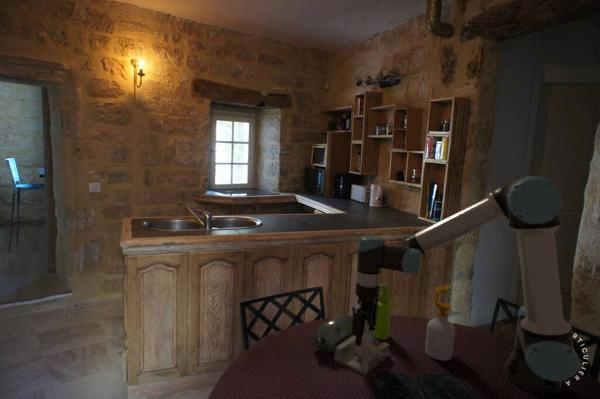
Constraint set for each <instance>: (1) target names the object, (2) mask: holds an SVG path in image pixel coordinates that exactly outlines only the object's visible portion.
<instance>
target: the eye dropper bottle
mask: <svg viewBox="0 0 600 399" xmlns="http://www.w3.org/2000/svg"><path fill="white" fill-rule="evenodd" d="M363 336H365V337H364V351H363V355H359V354H357V353H356V354H357V355H358V356H360V357H362V358H364V357H365V356H367V355H368V354H369V353H370V352H372V345H373V341H374V338H373V337H374V336H373V334H372V335H371V334H370V332H369V325H368V324H367V321H365V327H364V333H363Z"/></svg>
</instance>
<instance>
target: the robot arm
mask: <svg viewBox="0 0 600 399" xmlns="http://www.w3.org/2000/svg"><path fill="white" fill-rule="evenodd" d="M562 205H563V198H562V193H561V191H560V189H559V188H558V187H557V185H556V184H555V182H552V181H551V180H550V179H548V178H545V177H543V176H539V175H534V174H521V175H518V176H515V177H513V178H512V179H510V180H508V181H507V182H505V183H504V184H502V185H501V186H498V187H497V188H495V189H494V190H492V191H490V192H488V194H487V197H485V198H483V199H481V200H479V201H478V202H475V203H473V204H471V205H469V206H467V207H464V208H463V209H461V210H459V211H457V212H456V213H453V214H451V215H449V216H447V217H445V218H443V219H442V220H439V221H437V222H435V223H433V224H431V225H429V226H427V227H425V228H423V229H421V230H419V231H417V232H416V233H414V234H411V235H410V236H405V237H403V238H401V239H400V240H399V241H398V242H397V244H396V245H395V246H394V245H388V244H384V241H383V240H384V239H382V237H381V236H377V235H363V236H361V237H360V238H359V241H358V247H357V248H358V249H357V266H356V278H355V279H356V280H355V281H356V283H355V295H356V296H357V297H358V300H357V303H356V304H357V305H356V306H352V309H351V310H352V320H353V325H352V335H354V336H356V343H355V353H357V354H359V355H363V351H364V337H365V336H363V333H364V327H365V321H367V324H368V325H369V332H370V334H371V335H372V336H373V331H375V328H374V326H376V318H377V307H378V302H379V295H380V288H379V284H381V269H382V270H390V271H394V272H400V273H405V274H415V275H417V274H419V273H420V271H421V266H422V257H423V256H424V255H427V254H428V253H431V252H432V251H435V250H437V249H439V248H441V247H442V246H446V245H447V244H450V243H452V242H454V241H456V240H458V239H460V238H462V237H464V236H467V235H469V234H470V233H473V232H476V231H477V230H479V229H481V228H484V227H486V226H488V225H490V224H492V223H495V222H497V221H499V220H506V221H507V220H508V223H509V229H511V230H512V231H513V232H515V234H516V241H517V248H518V257H519V258H518V259H519V265H520V275H521V277H520V278H521V285H522V293H523V300H524V305H522V306H520V307H519V308H518V313H517V320H516V329H515V330H516V331H515V337H514V344H513V350H512V352H511V354H510V355H509V356H508V358H507V361H506V362H505V364H504V371H503V372H504V375H505V376H506V377H507V379H508V380H510V381H511V382H512V383H513V384H515V385H516V386H518V387H520V388H521V389H524V390H525V391H529V392H531V393H536V394H539V395H547V396H552V395H557V394H559V393H560V392H561V390H562V385H563V382H564V381H565V380H566V381H567V380H569V379H570V378H572V377H573V376H574V375H576V374H577V372H578V370H579V368H580V362H579V360H580V359H579V356H578V353H577V352H576V350H575V348H574V342H573V341H574V340H573V331H572V326H571V324H570V323H569V322H568V321H566V320H565V317H564V311H563V303H562V302H563V300H562V293H561V283H560V276H559V275H560V274H559V264H558V263H559V262H558V255H557V245H556V236H555V232H556V231H557V229H559V227H561V218H560V216H561V215H560V212H561V209H562Z"/></svg>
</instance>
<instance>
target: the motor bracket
mask: <svg viewBox="0 0 600 399" xmlns="http://www.w3.org/2000/svg"><path fill="white" fill-rule="evenodd" d="M352 325H353V318H351V316H349V315H348V314H342V313H340V314H339V315H337V316H335V317H333V318H331V319H330V320H328V321H326V322H325V323H323V324H321V325H319V326H318V327H315V328H314V329H313V332H312V335H311V336H312V338H311V340H312V343H313V346H314V347H315V348H316V350H317V351H318V352H320V353H321V354H324V355H328V354H330V353H332V352H333V355H332V357H333V361H334V362H336V363H337V364H340V365H342V366H344V367H346V368H348V369H351V370H353V371H354V372H356V373H359V374H361V375H363V376H365V377H366V376H368V375H369V374H370V373H371V372H373V371H374V370H375V369H376V368H377V367H378V366H379V365H380V364H381V363H383V362H384V361H385V360H386V359H387V358H388V357H390V355H391V354H390V344H389V343H387V342H385V341H383V342H382V343H380V344H379V345H377V346H375V345H373V344H372V352H370V353H369V354H368V355H367V356H365V357H364V358H362V357H360V356H358V355H357V354H356V353H355V343H356V336H354V335H352Z"/></svg>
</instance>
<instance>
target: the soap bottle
mask: <svg viewBox="0 0 600 399" xmlns="http://www.w3.org/2000/svg"><path fill="white" fill-rule="evenodd" d="M451 290H452V287H451V285H449V284H443V285H439V286H436V287H435V289H434V296H433V297H434V298H433V302H434V303H435V307H436V308H438V309H439V311H437V314H436V317H435V318H432V319H430V320H429V321H428V322H427V326H426V335H425V336H426V337H425V343H424V352H425V354H426V355H427V356H429V357H430V358H432V359H434V360H438V361H449V360H451V359H452V358H453V355H454V349H455V348H454V346H455V339H456V338H455V337H456V327H455V325H453V323H452V322H451V321H449V320H448V315H449V314H448V313H447V312H446V311H448V310H452V307H451V305H450V303H445V302H439V301H438V298H439V294H440V293H442V292H447V291H451Z"/></svg>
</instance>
